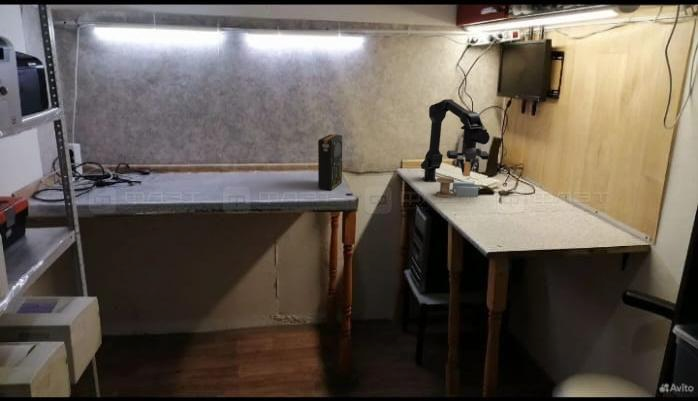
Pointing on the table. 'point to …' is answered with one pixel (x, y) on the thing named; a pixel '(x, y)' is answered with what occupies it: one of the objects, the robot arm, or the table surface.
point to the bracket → (465, 189)
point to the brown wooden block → (466, 169)
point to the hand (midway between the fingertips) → (465, 172)
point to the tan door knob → (444, 187)
